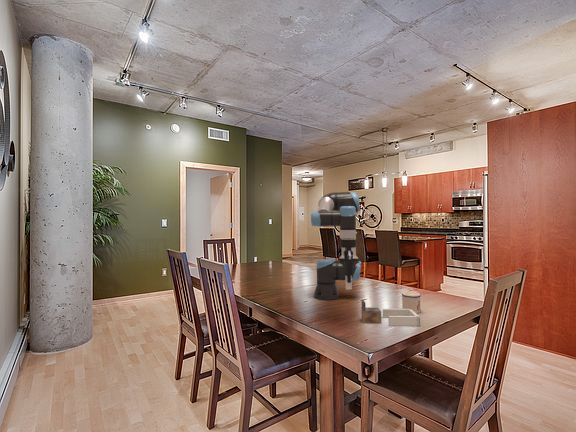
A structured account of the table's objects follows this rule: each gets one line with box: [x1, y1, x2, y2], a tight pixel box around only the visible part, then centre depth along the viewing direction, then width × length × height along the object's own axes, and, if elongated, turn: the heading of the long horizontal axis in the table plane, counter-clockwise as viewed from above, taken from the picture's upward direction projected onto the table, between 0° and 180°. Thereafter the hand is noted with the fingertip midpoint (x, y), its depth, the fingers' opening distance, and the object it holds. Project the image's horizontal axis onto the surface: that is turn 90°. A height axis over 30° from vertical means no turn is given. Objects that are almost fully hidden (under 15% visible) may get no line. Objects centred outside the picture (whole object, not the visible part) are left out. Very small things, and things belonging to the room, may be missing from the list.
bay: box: [382, 308, 421, 327], centre depth 145 cm, size 14×12×4 cm
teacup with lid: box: [401, 287, 421, 315], centre depth 161 cm, size 12×9×12 cm
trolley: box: [360, 299, 382, 324], centre depth 146 cm, size 8×6×9 cm
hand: (348, 289), depth 146 cm, fingers closed
